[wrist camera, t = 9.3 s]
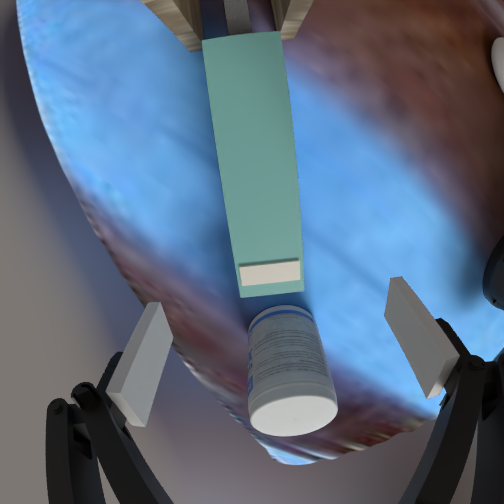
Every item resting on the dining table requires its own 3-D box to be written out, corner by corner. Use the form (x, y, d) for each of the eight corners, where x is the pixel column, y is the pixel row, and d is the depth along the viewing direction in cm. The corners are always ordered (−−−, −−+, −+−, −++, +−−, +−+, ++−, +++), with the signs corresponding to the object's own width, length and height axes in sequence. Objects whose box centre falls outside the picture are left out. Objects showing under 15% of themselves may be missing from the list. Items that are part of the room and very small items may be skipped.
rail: (242, -27, 18) (242, -28, 18) (276, 236, 32) (276, 237, 32) (220, -24, 18) (220, -25, 18) (255, 238, 32) (255, 239, 32)
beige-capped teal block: (269, 64, 23) (280, 30, 13) (288, 236, 32) (304, 292, 21) (220, 70, 24) (201, 39, 14) (244, 241, 32) (240, 299, 22)
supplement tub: (234, 321, 37) (228, 412, 24) (297, 289, 35) (317, 381, 22) (270, 360, 41) (276, 444, 28) (326, 335, 39) (350, 419, 26)
